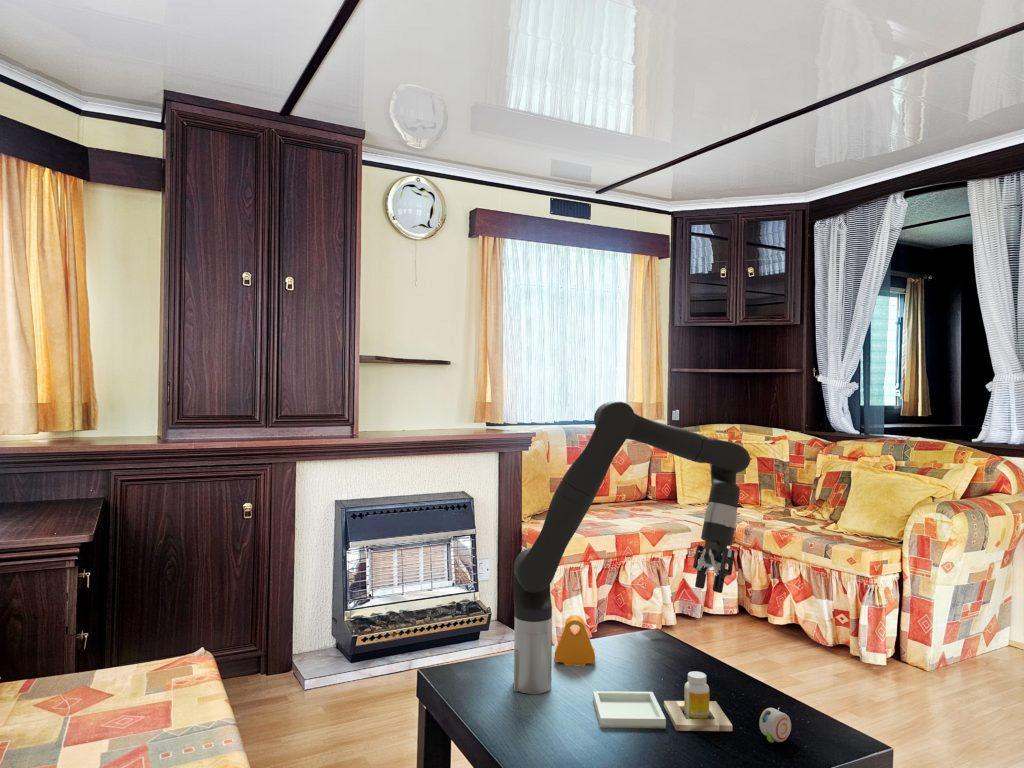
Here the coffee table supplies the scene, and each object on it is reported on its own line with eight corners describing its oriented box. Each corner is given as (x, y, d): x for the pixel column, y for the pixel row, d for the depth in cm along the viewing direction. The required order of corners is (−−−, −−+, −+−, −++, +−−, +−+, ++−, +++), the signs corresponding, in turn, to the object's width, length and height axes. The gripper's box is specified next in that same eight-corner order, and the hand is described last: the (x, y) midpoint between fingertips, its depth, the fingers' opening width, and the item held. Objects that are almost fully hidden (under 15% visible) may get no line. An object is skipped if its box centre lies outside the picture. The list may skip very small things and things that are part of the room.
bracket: (594, 656, 191) (594, 612, 191) (595, 666, 184) (595, 621, 184) (555, 655, 192) (555, 611, 192) (554, 664, 184) (554, 619, 185)
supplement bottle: (679, 715, 155) (679, 672, 155) (698, 711, 157) (698, 668, 158) (695, 725, 150) (695, 680, 150) (714, 720, 152) (714, 676, 153)
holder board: (676, 730, 148) (676, 724, 148) (663, 706, 160) (663, 700, 160) (732, 731, 148) (732, 725, 148) (715, 706, 160) (715, 701, 160)
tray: (600, 727, 149) (600, 718, 149) (593, 699, 163) (593, 691, 163) (665, 728, 149) (665, 718, 149) (652, 700, 163) (652, 691, 163)
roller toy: (755, 737, 145) (755, 709, 145) (776, 730, 148) (776, 703, 149) (772, 746, 141) (772, 717, 142) (793, 739, 144) (793, 711, 145)
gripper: (692, 519, 177) (680, 583, 174) (721, 520, 164) (709, 590, 160) (718, 526, 179) (707, 590, 175) (749, 528, 165) (737, 597, 161)
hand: (708, 590), depth 167 cm, fingers open, 8 cm apart
